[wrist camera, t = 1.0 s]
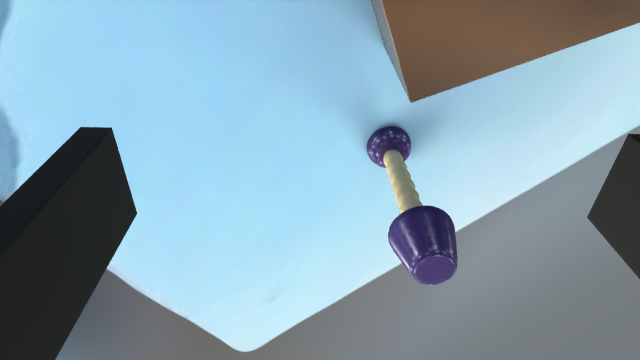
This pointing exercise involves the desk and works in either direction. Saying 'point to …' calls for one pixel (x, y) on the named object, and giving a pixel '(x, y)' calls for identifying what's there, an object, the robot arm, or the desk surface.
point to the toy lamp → (414, 214)
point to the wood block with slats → (486, 35)
